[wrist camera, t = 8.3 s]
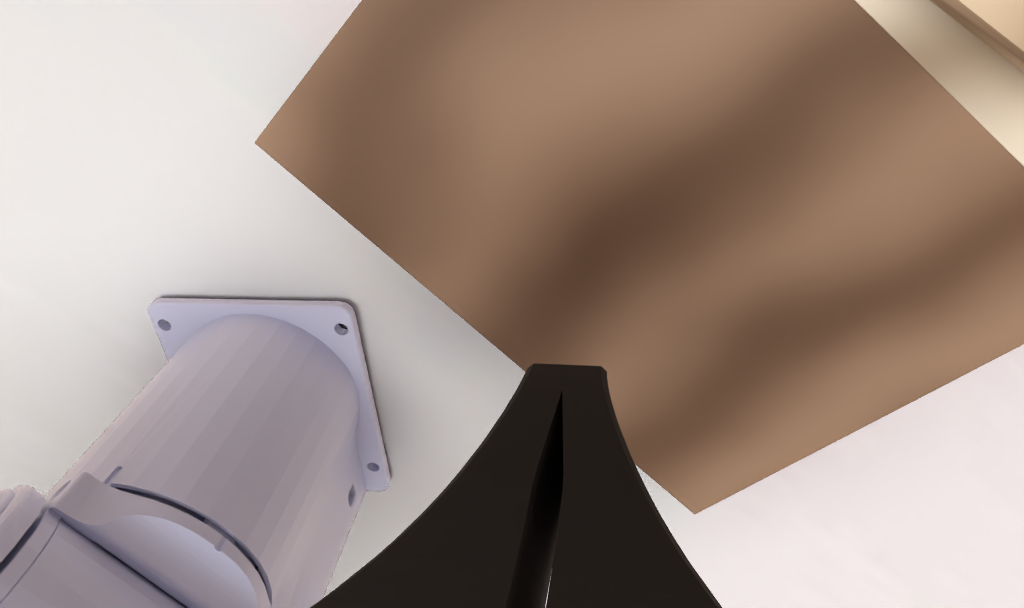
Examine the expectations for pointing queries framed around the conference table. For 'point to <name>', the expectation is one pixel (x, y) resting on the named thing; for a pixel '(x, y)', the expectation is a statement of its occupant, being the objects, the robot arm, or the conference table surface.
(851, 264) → the stool seat
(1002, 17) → the folding leg
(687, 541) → the conference table surface
